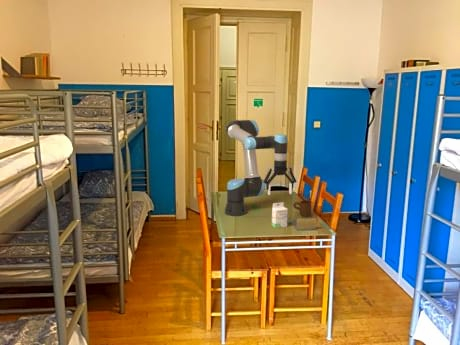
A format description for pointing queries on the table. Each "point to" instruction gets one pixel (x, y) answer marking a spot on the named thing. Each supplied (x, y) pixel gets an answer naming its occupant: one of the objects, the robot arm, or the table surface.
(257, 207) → the table surface
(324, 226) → the table surface
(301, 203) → the mug
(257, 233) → the table surface
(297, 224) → the bracket
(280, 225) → the ink box
